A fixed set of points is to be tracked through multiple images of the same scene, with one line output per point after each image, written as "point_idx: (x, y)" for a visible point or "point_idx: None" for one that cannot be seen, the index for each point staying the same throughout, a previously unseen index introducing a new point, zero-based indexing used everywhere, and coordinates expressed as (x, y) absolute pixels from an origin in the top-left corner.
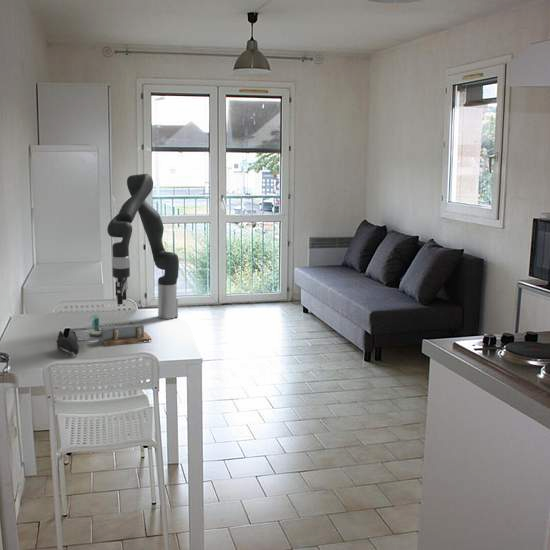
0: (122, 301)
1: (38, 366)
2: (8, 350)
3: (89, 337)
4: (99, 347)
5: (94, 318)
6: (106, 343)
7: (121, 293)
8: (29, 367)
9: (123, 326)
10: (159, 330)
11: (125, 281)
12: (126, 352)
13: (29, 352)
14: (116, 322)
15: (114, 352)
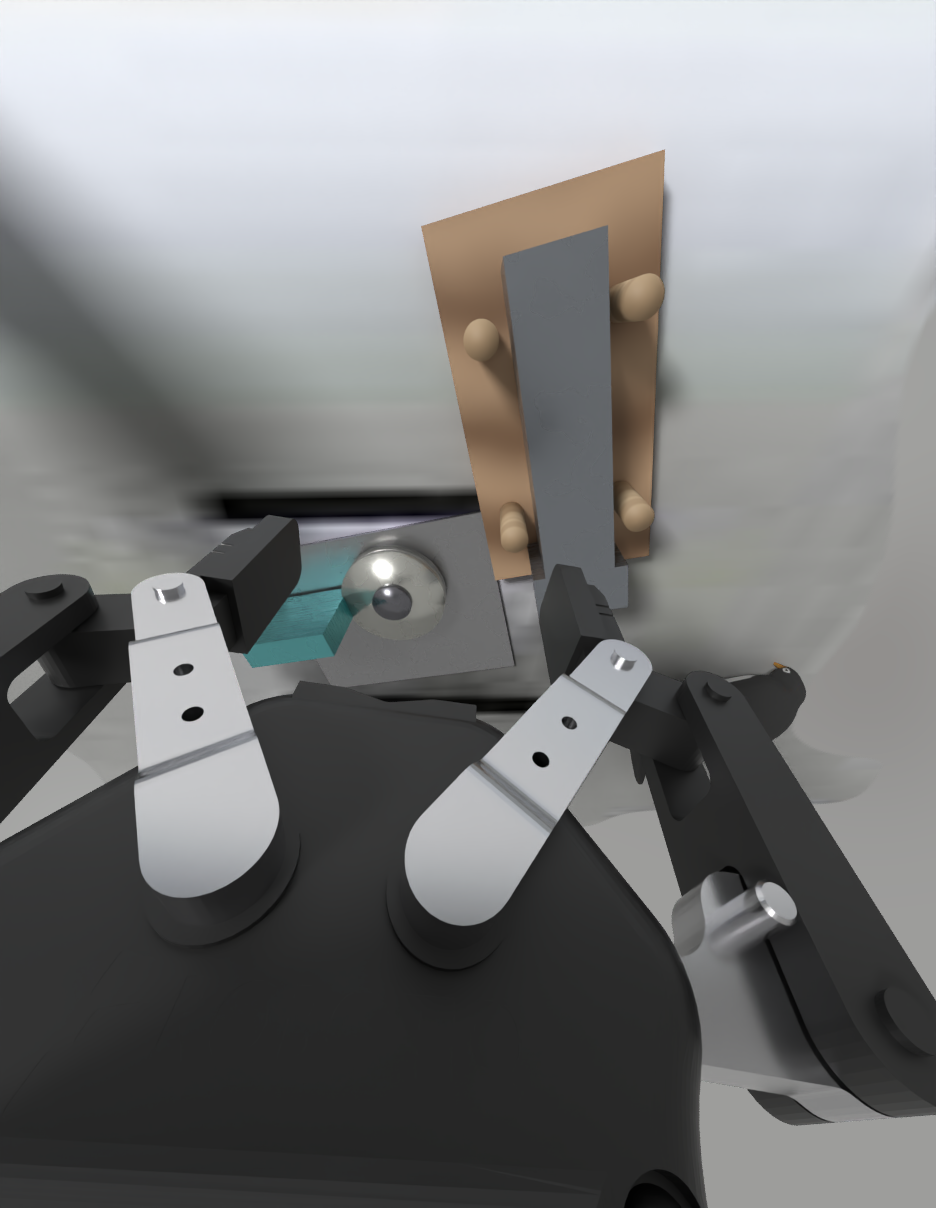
0: (582, 583)
1: (831, 758)
2: (587, 820)
3: (468, 624)
4: (661, 574)
5: (329, 655)
6: (646, 546)
7: (733, 707)
8: (824, 776)
9: (573, 464)
10: (227, 27)
11: (264, 871)
12: (858, 412)
13: (633, 783)
14: (98, 491)
15: (809, 492)
